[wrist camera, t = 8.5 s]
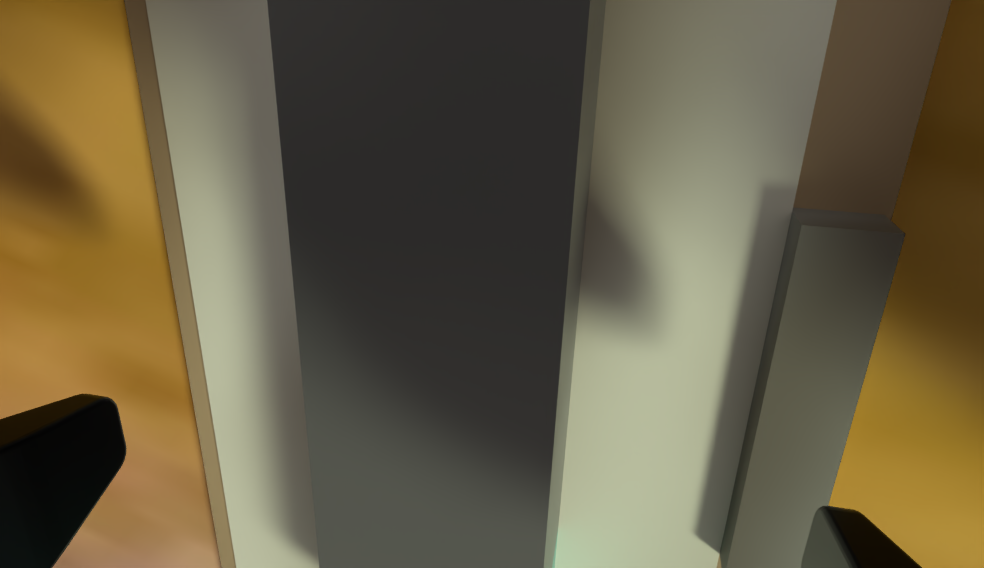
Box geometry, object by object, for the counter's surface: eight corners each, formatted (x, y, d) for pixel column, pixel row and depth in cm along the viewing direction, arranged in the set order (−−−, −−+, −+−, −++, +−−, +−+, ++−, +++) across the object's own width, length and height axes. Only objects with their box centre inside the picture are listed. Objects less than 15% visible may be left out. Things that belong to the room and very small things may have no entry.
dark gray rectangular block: (610, -44, 8) (594, -60, 6) (547, 648, 13) (522, 817, 10) (376, -49, 9) (260, -68, 6) (398, 618, 14) (338, 772, 11)
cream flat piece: (1037, -408, 7) (1127, -498, 6) (730, 768, 15) (738, 841, 13) (96, -349, 9) (5, -408, 8) (255, 664, 16) (223, 721, 15)
